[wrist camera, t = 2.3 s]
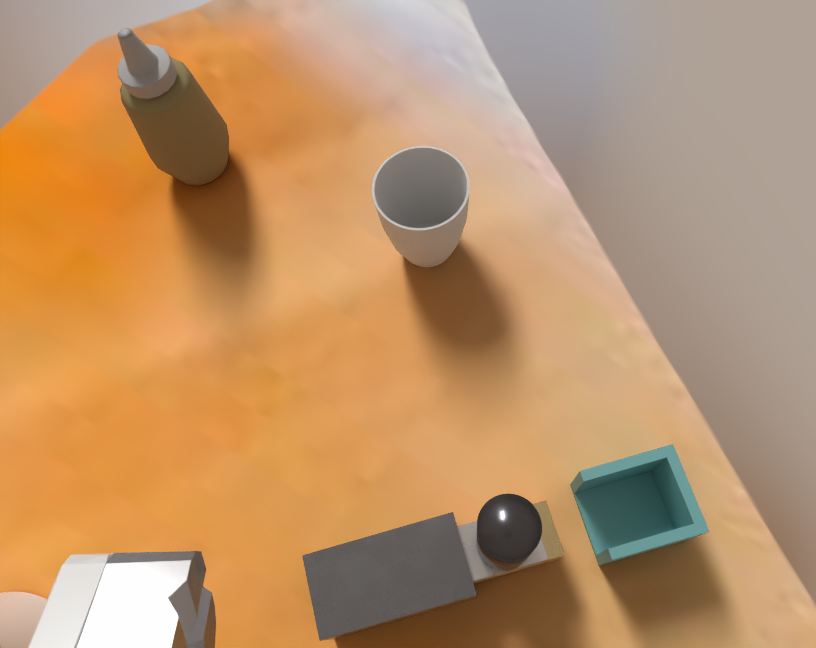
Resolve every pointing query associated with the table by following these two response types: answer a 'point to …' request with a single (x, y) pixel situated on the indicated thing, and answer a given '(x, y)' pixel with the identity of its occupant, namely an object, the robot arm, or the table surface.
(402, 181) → the cup
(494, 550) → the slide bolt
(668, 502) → the socket
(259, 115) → the table surface
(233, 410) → the table surface
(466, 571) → the sleeve
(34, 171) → the table surface
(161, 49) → the squeeze bottle
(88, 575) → the robot arm
